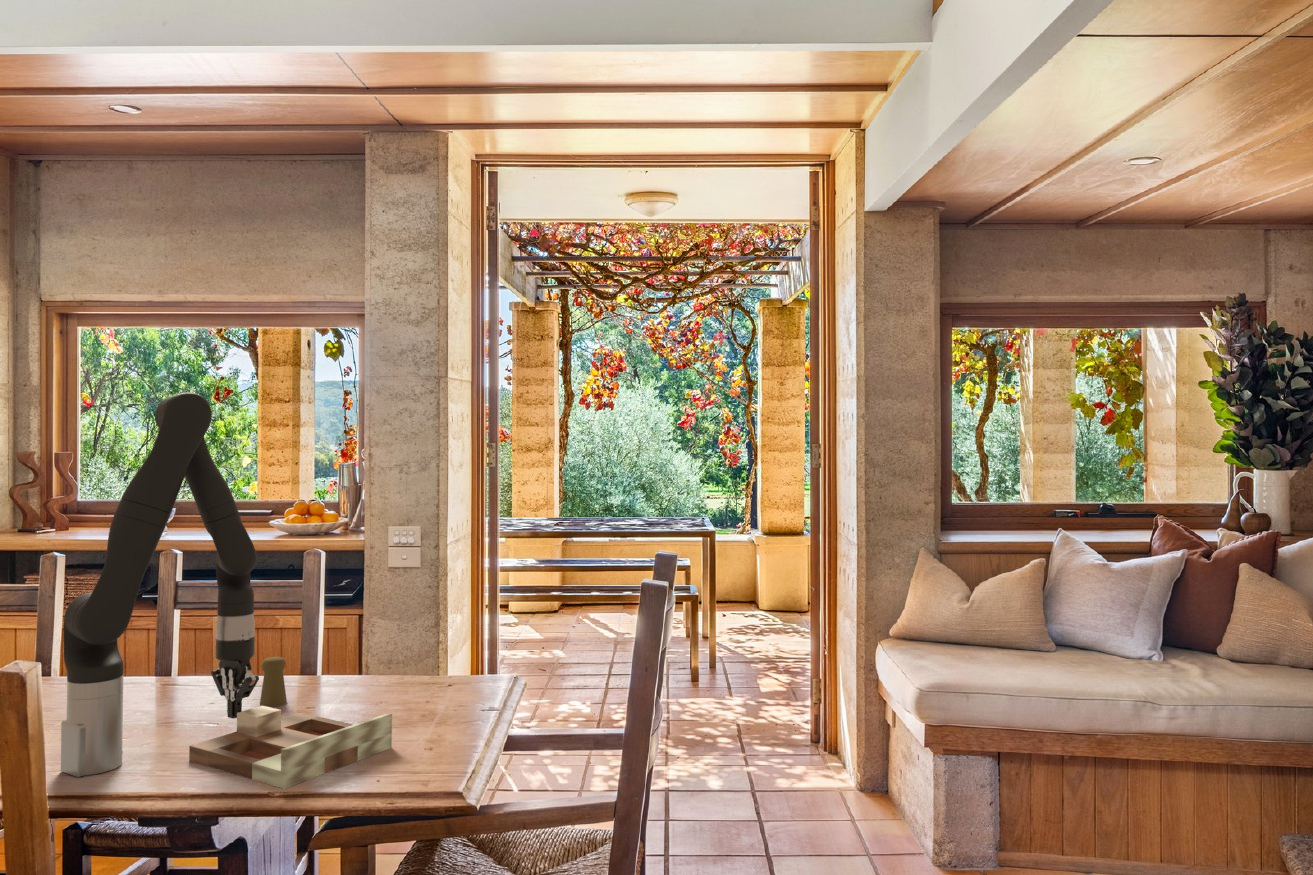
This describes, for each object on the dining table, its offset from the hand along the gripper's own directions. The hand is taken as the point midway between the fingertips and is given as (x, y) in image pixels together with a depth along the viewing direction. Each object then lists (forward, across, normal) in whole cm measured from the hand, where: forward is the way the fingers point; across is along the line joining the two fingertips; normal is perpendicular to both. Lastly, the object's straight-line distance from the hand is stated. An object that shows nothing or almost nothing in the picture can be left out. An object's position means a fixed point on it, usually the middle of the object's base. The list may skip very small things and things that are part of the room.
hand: (234, 717), depth 192 cm
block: (+2, +8, 0) cm, 8 cm away
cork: (+5, -15, +22) cm, 27 cm away
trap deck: (+4, +19, 0) cm, 19 cm away
